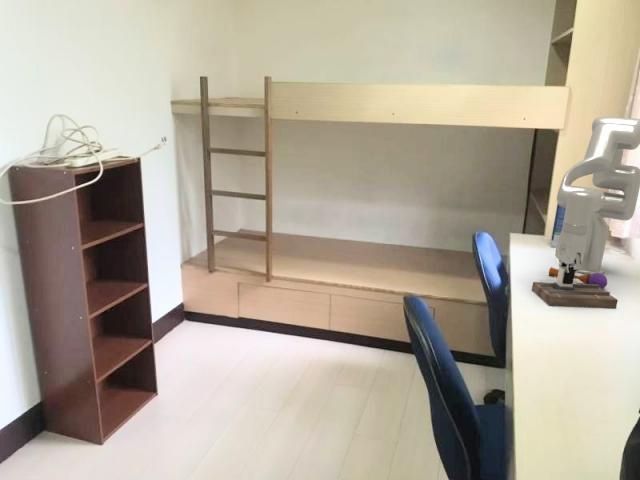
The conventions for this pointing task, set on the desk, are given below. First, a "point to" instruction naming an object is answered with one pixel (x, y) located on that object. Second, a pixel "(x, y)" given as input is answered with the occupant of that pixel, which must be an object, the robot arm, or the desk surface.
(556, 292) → the brown slider board
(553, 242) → the string lights box
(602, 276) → the kendama
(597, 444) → the desk surface
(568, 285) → the fader tab
